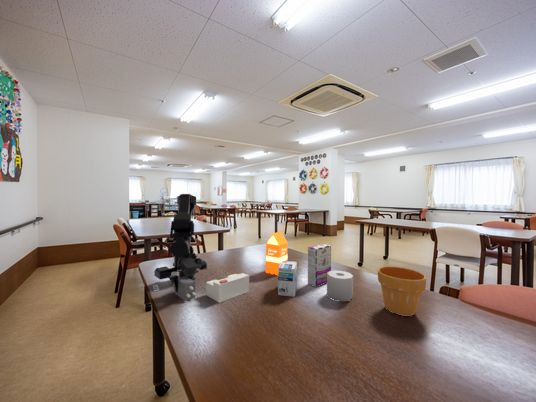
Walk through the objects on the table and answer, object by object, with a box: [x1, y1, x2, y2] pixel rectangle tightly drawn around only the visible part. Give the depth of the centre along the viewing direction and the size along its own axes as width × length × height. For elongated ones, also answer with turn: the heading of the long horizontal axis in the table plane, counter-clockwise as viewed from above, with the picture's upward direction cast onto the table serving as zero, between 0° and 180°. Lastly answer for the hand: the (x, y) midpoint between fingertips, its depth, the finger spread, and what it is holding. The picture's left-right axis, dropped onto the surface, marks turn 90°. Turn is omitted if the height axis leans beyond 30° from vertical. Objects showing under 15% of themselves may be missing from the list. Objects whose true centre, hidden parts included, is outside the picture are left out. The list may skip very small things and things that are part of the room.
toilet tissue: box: [326, 270, 354, 302], centre depth 92 cm, size 9×13×9 cm
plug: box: [174, 276, 197, 302], centre depth 88 cm, size 10×4×6 cm, turn 45°
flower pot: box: [377, 266, 427, 315], centre depth 79 cm, size 14×14×13 cm
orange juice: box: [265, 231, 289, 276], centre depth 118 cm, size 8×9×20 cm
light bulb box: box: [277, 260, 298, 298], centre depth 95 cm, size 11×7×11 cm, turn 168°
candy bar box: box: [307, 243, 332, 288], centre depth 104 cm, size 11×5×16 cm, turn 131°
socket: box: [205, 272, 250, 304], centre depth 91 cm, size 9×14×7 cm, turn 135°
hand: (182, 290), depth 91 cm, fingers closed on plug, 4 cm apart
